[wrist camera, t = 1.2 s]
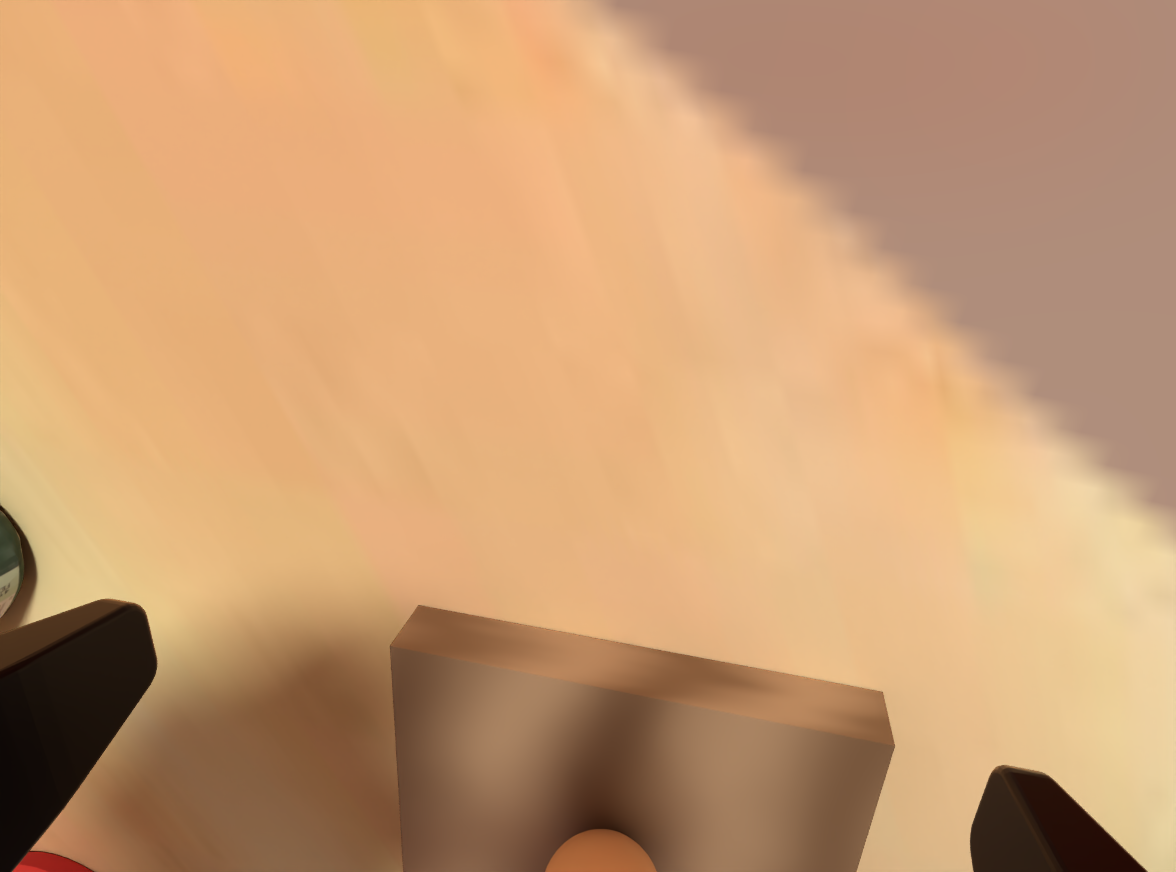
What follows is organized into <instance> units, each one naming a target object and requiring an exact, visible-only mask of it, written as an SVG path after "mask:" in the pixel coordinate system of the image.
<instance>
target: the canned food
mask: <svg viewBox="0 0 1176 872" xmlns="http://www.w3.org/2000/svg"><path fill="white" fill-rule="evenodd" d="M13 872H93V871H92V870H90V869H88V868H87V867H85V866H83V865H81V864H79V863H77V862H75V861H72V860H70V859H68V858H65V857H62V856H59V855H56V854H51V853H45V852H28V853H27V855H26V856H25V857H24V858H23V859H22V861H21V862H20V863H19V864H18V866H17V867H16V868H15V869H14V870H13Z"/></svg>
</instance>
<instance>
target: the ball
mask: <svg viewBox="0 0 1176 872" xmlns="http://www.w3.org/2000/svg"><path fill="white" fill-rule="evenodd" d="M545 872H657V871H656V868H655V866H654V864H653V862H652V861H651V859H650V857H649V856H648V854H647V853H646V852H645V851H644V850H643V849H642V847H641V846H640V845H639V844H638V843H636V842H635V841H634V840H632V839H631V838H629V837H628V836H626V835H624V834H622V833H620V832H617V831H614V830H609V829H593V830H588V831H584V832H582V833H579V834H577V835H575V836H573V837H572V838H570V839H569V840H567V841H566V842H565V843H564V844H563V845H562V846H561V847H560V848H559V849H558V850H557V851H556V852H555V854H554V855H553V857H552V858H551V860H550V862H549V864H548V865H547V868H546V870H545Z"/></svg>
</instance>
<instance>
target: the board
mask: <svg viewBox="0 0 1176 872" xmlns="http://www.w3.org/2000/svg"><path fill="white" fill-rule="evenodd" d="M390 653H391V670H392V687H393V704H394V721H395V737H396V754H397V771H398V788H399V805H400V821H401V838H402V855H403V872H545V870H546V868H547V865H548V864H549V862H550V860H551V858H552V857H553V855H554V854H555V852H556V851H557V850H558V849H559V848H560V847H561V846H562V845H563V844H564V843H565V842H566V841H567V840H569V839H570V838H572V837H573V836H575V835H577V834H579V833H582V832H584V831H588V830H593V829H609V830H614V831H617V832H620V833H622V834H624V835H626V836H628V837H629V838H631V839H632V840H634V841H635V842H636V843H638V844H639V845H640V846H641V847H642V849H643V850H644V851H645V852H646V853H647V854H648V856H649V857H650V859H651V861H652V862H653V864H654V866H655V868H656V871H657V872H856V871H857V868H858V864H859V861H860V858H861V855H862V851H863V848H864V845H865V842H866V838H867V835H868V832H869V829H870V825H871V822H872V819H873V816H874V812H875V809H876V806H877V803H878V799H879V796H880V793H881V790H882V786H883V783H884V780H885V777H886V773H887V770H888V767H889V764H890V760H891V757H892V754H893V751H894V747H895V744H894V740H893V735H892V731H891V726H890V722H889V717H888V713H887V709H886V704H885V700H884V695H883V692H880V691H875V690H869V689H864V688H859V687H853V686H848V685H843V684H837V683H832V682H827V681H821V680H816V679H810V678H805V677H800V676H794V675H789V674H784V673H778V672H773V671H768V670H762V669H757V668H752V667H746V666H741V665H736V664H730V663H725V662H720V661H714V660H709V659H703V658H698V657H693V656H687V655H682V654H677V653H671V652H666V651H661V650H655V649H650V648H645V647H639V646H634V645H629V644H623V643H618V642H612V641H607V640H602V639H596V638H591V637H586V636H580V635H575V634H570V633H564V632H559V631H554V630H548V629H543V628H538V627H532V626H527V625H521V624H516V623H511V622H505V621H500V620H495V619H489V618H484V617H479V616H473V615H468V614H463V613H457V612H452V611H447V610H441V609H436V608H430V607H425V606H420V605H418V607H417V608H416V610H415V611H414V613H413V614H412V615H411V617H410V618H409V620H408V621H407V623H406V624H405V625H404V627H403V628H402V630H401V631H400V633H399V634H398V635H397V637H396V638H395V640H394V641H393V642H392V644H391V645H390Z"/></svg>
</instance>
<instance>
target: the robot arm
mask: <svg viewBox="0 0 1176 872" xmlns="http://www.w3.org/2000/svg"><path fill="white" fill-rule="evenodd" d="M156 670H157V656H156V652H155V648H154V644H153V639H152V635H151V631H150V627H149V623H148V618H147V615H146V612H145V610H144V609H143V608H142V607H141V606H140V605H138V604H136V603H131V602H126V601H120V600H115V599H101V600H97V601H94V602H91V603H88V604H86V605H83V606H80V607H77V608H74V609H71V610H68V611H65V612H62V613H60V614H57V615H54V616H51V617H48V618H45V619H42V620H39V621H36V622H34V623H31V624H28V625H25V626H22V627H19V628H16V629H13V630H10V631H7V632H5V633H2V634H0V872H13V870H14V869H15V868H16V867H17V866H18V864H19V863H20V862H21V861H22V859H23V858H24V857H25V856H26V855H27V853H28V852H29V851H30V850H31V849H32V847H33V846H34V845H35V844H36V842H37V841H38V840H39V839H40V838H41V836H42V835H43V834H44V833H45V832H46V830H47V829H48V828H49V827H50V825H51V824H52V823H53V821H54V820H55V819H56V818H57V816H58V815H59V814H60V813H61V811H62V810H63V809H64V808H65V806H66V805H67V803H68V802H69V801H70V799H71V798H72V797H73V795H74V794H75V792H76V791H77V790H78V788H79V787H80V785H81V784H82V783H83V781H84V780H85V778H86V777H87V775H88V774H89V772H90V771H91V770H92V768H93V767H94V765H95V764H96V762H97V761H98V760H99V758H100V757H101V755H102V754H103V752H104V751H105V749H106V748H107V747H108V745H109V744H110V742H111V741H112V739H113V738H114V737H115V735H116V734H117V732H118V731H119V729H120V728H121V726H122V725H123V724H124V722H125V721H126V719H127V718H128V716H129V715H130V714H131V712H132V711H133V709H134V708H135V706H136V705H137V703H138V702H139V701H140V699H141V698H142V696H143V695H144V693H145V692H146V691H147V689H148V688H149V686H150V685H151V683H152V681H153V679H154V677H155V674H156ZM970 850H971V858H972V865H973V871H974V872H1148V871H1147V870H1146V869H1145V868H1144V867H1142V866H1141V865H1140V864H1139V863H1138V862H1137V861H1136V860H1135V859H1134V858H1133V857H1132V856H1131V855H1130V854H1129V853H1128V852H1127V851H1126V850H1125V849H1124V848H1123V847H1122V846H1121V845H1120V844H1119V843H1118V842H1117V841H1116V840H1115V839H1114V838H1113V837H1112V836H1111V835H1110V834H1109V833H1108V832H1107V831H1106V830H1105V829H1104V828H1103V827H1102V826H1101V825H1100V824H1099V823H1098V822H1097V821H1095V820H1094V819H1093V818H1092V817H1091V816H1090V815H1089V814H1088V813H1087V812H1086V811H1085V810H1084V809H1083V808H1082V807H1081V806H1080V805H1079V804H1078V803H1077V802H1076V801H1075V800H1074V799H1073V798H1072V797H1071V796H1070V795H1069V794H1068V793H1067V792H1066V791H1065V790H1064V789H1063V788H1062V787H1061V786H1060V785H1059V784H1058V783H1057V782H1056V781H1054V780H1053V779H1052V778H1051V777H1050V776H1048V775H1047V774H1045V773H1042V772H1039V771H1034V770H1029V769H1024V768H1018V767H1013V766H1008V765H1001V766H997V767H996V768H995V769H994V770H993V771H992V773H991V775H990V777H989V779H988V782H987V785H986V788H985V790H984V793H983V796H982V799H981V801H980V804H979V807H978V810H977V813H976V815H975V818H974V821H973V824H972V828H971V834H970Z"/></svg>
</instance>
